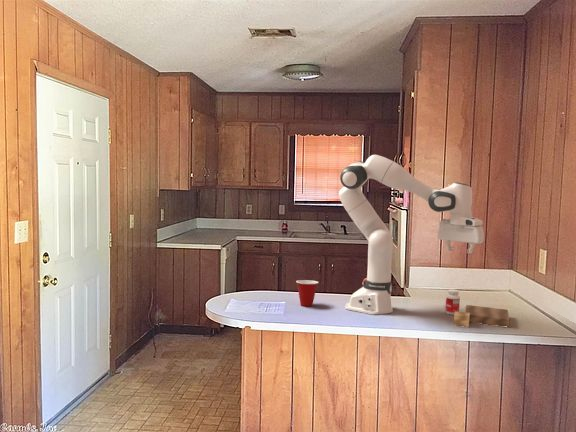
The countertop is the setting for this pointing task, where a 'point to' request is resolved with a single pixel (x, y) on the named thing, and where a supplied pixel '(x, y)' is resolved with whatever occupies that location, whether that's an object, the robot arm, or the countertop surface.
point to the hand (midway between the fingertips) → (459, 251)
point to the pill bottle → (452, 302)
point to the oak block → (461, 319)
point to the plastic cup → (306, 292)
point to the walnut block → (488, 315)
